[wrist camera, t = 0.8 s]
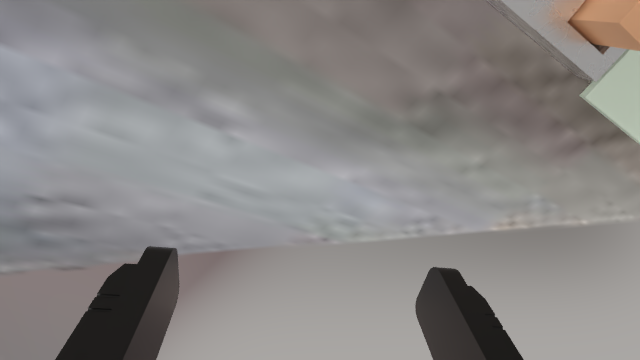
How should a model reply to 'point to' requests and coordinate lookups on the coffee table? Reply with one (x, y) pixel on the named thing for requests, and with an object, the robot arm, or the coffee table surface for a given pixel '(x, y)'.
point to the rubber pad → (619, 94)
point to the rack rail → (559, 34)
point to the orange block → (609, 23)
